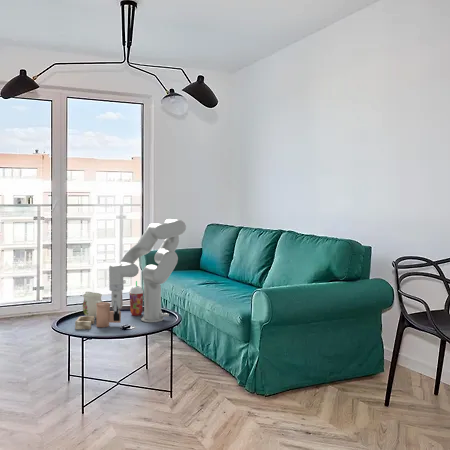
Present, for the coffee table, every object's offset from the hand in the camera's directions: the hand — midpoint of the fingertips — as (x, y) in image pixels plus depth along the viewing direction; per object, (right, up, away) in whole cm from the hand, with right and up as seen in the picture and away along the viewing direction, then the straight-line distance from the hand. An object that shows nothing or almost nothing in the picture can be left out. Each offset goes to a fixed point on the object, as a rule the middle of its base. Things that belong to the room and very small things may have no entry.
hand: (116, 320), depth 276 cm
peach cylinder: (-5, -3, 0) cm, 6 cm away
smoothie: (+7, -1, +24) cm, 25 cm away
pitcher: (-17, -2, +16) cm, 23 cm away
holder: (-17, -3, -1) cm, 17 cm away
